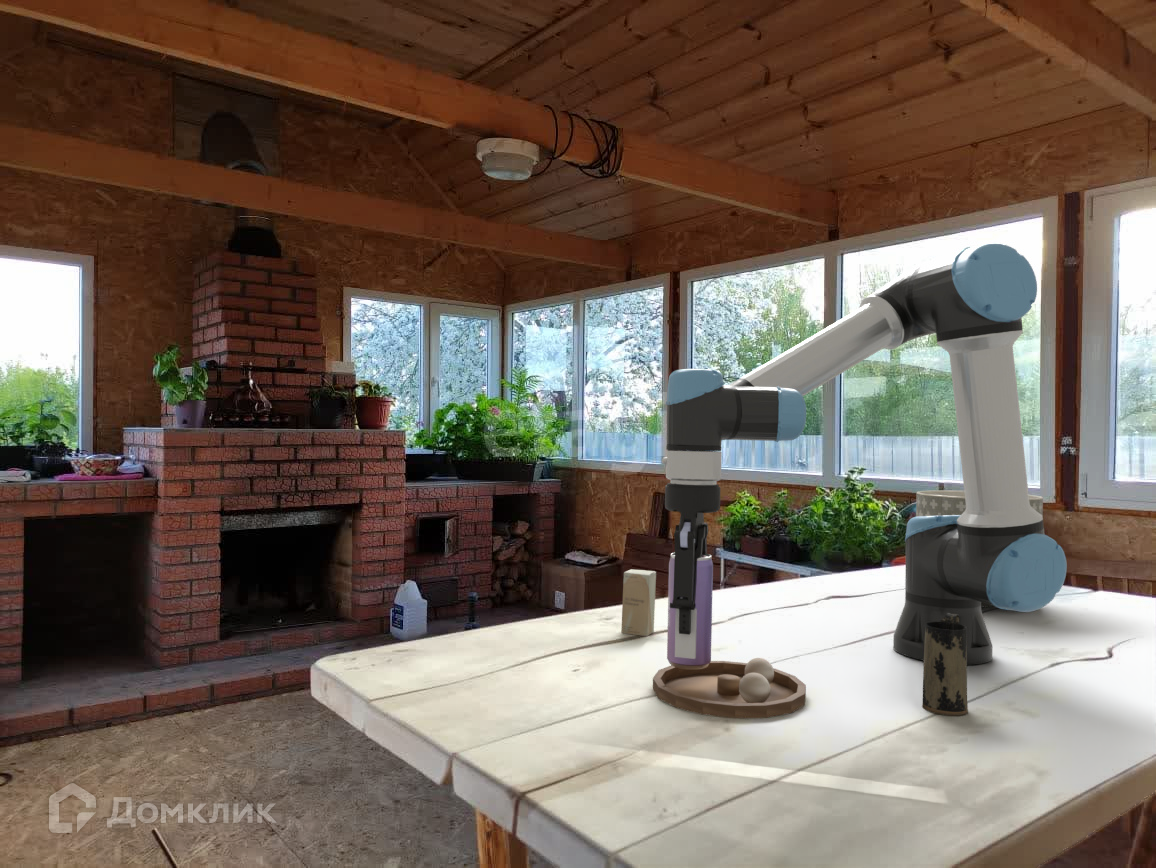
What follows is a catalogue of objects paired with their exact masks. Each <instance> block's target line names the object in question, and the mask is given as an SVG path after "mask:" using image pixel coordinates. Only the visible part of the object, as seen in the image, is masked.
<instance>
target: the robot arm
mask: <svg viewBox="0 0 1156 868" xmlns="http://www.w3.org/2000/svg"><path fill="white" fill-rule="evenodd" d="M1037 295H1038V283H1037V277H1036V274H1035V271H1034V269H1033V267H1032V266H1031V264H1030V262H1029V261H1028V260H1027V258H1026V257H1025V256H1024V255H1023V254H1021V253H1019V252H1018V250H1017V249H1016V248H1014V247H1012V246H1010V245H1007V244H1004V243H999V242H990V243H984V244H979V245H978V244H977V245H973V246H967V247H965V248H963V249H960V250H958V251H957V250H956V251H955V252H951V253H948V254H946V255H942V256H939V257H936V258H934V259H929V260H926V261H923V262H921V263H918V264H916V265H915V266H913V267H911V268H909V269H908V270H907V271H905V272H903V273H901V274H900V275H899V276H897V277H895V278H894V279H893V280H890V282H888V283H886V284H885V285H884V286H882V287H880V288H879V289H876V291H874V292H873V293H871V294H869V295H868V296H866V297H864V298H863V299H862V300H861V302H860V305H859V308H857V309H856V310H854V311H853V312H851V313H849V314H847V315H845V316H843V318H841V319H838V320H837V321H835V322H834V323H832V324H830V325H828V326H827V327H825V328H823V329H821V330H820V331H819V332H817V333H815V334H813V335H812V336H809V337H808V338H806V339H805V340H803V341H801V342H800V343H798V344H796V345H794V346H792V347H791V348H789V349H788V350H786V351H784V352H782V353H780V354H779V355H778V356H776V357H774V358H772V359H770V360H769V361H767V362H766V363H764V364H762V365H760V366H758V367H756V368H755V369H753V370H752V371H749V373H747V374H744V375H743V376H742V377H740V378H739V379H737V380H735V381H733V382H731V383H729V384H725V382H724V378H723V373H722V372H721V371H719V370H717V369H708V368H706V369H705V368H684V369H683V368H682V369H676V370H674V371H672V372H671V373H670V375H669V377H668V384H667V390H666V391H667V392H666V401H665V405H666V447H665V448H666V449H665V450H666V452H665V453H666V454H665V455H666V456H663V457H662V459H661V462H662V464H663V465H666V466H665V478H666V479H667V480H670V482H669V483H666V485H665V486H664V507H665V509H666V510H667V511H670V512H675V513H676V512H678V513H680V517H679V523H678V524H676V525H675V530H674V533H673V538H674V553H675V561H674V592H673V603H670V608H676V620H675V657H681V658H691V659H695V658H696V626H697V609H695V607H696V604H695V598H696V583H697V559H698V558H701V557H702V555H705V554H708V553H707V552H708V546H707V545H708V544H707V543H708V541H707V540H708V534H709V524H708V522H705V518H704V515H705V514H706V513H707V514H712V513H717V512H719V511H720V508H721V486H720V485H719V484H717V483H718V482H719V481H721V479H722V458H723V457H722V454H723V453H722V441H725V440H726V441H727V440H729V441H732V440H733V441H734V440H735V441H737V440H738V441H762V442H763V441H769V442H770V441H771V442H772V441H773V442H777V443H778V442H782V441H783V442H784V441H786V442H787V441H794V440H796V439H798V438H799V437H800V436H801V434H802V433H803V431H804V429H805V426H806V423H807V406H806V405H807V404H806V401H805V399H804V396H806V395H807V394H809V393H811V392H813V391H814V390H816V389H818V388H819V387H821V386H822V385H824V384H826V383H828V382H829V381H831V380H832V379H834V378H836V377H838V376H839V375H841V374H842V373H844V372H846V371H848V370H850V369H851V368H852V367H854V366H856V365H858V364H859V363H861V362H863V361H864V360H867V359H868V358H869V357H871V356H872V355H875V354H876V353H878V352H880V351H881V350H882V349H888V350H893V349H897V348H898V347H900V346H901V345H903V344H905V343H907V342H909V341H910V342H911V341H912V340H915V339H918V338H921V337H925V336H929V335H934V334H935V336H936V344H937V345H938V346H939V347H940V348H942V349H943V350H945V351H946V352H947V353H948V355H949V362H950V363H949V364H950V374H951V381H952V389H953V398H954V408H955V417H956V418H955V419H956V426H957V434H958V444H959V445H958V446H959V454H960V461H961V462H960V464H961V471H962V472H961V474H962V480H963V491H964V492H965V501H966V509H965V511H964V512H963V513H962V515H944V516H918V517H916V516H914V517H911V518H910V519H909V520H908V522H907V524H906V530H905V538H904V542H905V577H904V578H905V580H904V581H905V583H904V584H905V586H904V587H905V588H904V589H905V592H904V593H905V595H904V596H905V599H904V606H903V609H902V611H901V615H900V617H899V620H898V622H897V624H896V628H895V630H894V633H893V645H892V646H893V650H894V651H896V652H897V653H899V654H901V655H904V656H906V657H908V658H909V657H910V658H912V659H917V660H921V661H924V646H925V629H926V623H928V622H940V620H942V619H943V618H944V617H945V616H946V614H947V613H950V614H958V616H959V623H960V625H963V626H965V627H967V666H968V665H970V666H971V665H980V664H986V663H989V662H991V661H992V660H993V642H992V640H991V637H990V634H989V630H988V627H987V625H986V622H985V621H986V620H985V619H984V615H983V612H982V607H981V602H983V603H987V604H990V605H993V606H996V607H995V608H998V609H1000V610H1005V611H1015V612H1020V613H1030V612H1034V611H1037V610H1040V609H1041V608H1044V607H1046V606H1047V605H1048V604H1050V603H1051V602H1052V601H1053V600H1054V599H1055V597H1056V594H1058V593H1059V592H1060V591H1061V590H1062V588H1063V585H1064V583H1065V580H1066V578H1067V577H1066V576H1067V569H1068V567H1067V566H1068V565H1067V557H1066V554H1065V551H1064V549H1063V547H1062V546H1061V545H1060V544H1058V542H1057V541H1056V540H1055V539H1053V538H1052V537H1050V536H1048V535H1047V534H1045V527H1044V518H1043V517H1042V515H1041V514H1039V513H1038V512H1037V511H1036V510H1034V509H1033V508H1032V507H1031V506H1030V503H1029V495H1030V494H1029V485H1028V478H1027V477H1028V475H1027V469H1026V459H1025V450H1024V440H1023V438H1024V437H1023V431H1022V430H1023V428H1022V421H1021V411H1020V402H1019V392H1018V385H1017V384H1018V383H1017V376H1016V375H1017V374H1016V362H1015V356H1014V344H1015V343H1016V342H1017V340H1018V339H1019V338H1020V337H1021V336H1022V334H1023V333H1024V329H1023V320H1022V318H1023V317H1025V316H1026V314H1028V313H1029V312H1030V310H1031V309H1032V307H1033V306H1032V304H1034V303H1035V301H1036V298H1037ZM682 597H687V598H682Z"/></svg>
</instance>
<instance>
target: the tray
mask: <svg viewBox="0 0 1156 868" xmlns="http://www.w3.org/2000/svg"><path fill="white" fill-rule="evenodd" d="M747 663H748V662H738V661H731V660H728V661H727V660H711V662H710V663H709V665H708V666H707V667H706V668H703V669H681V668H677V667H674V666H672V665H671V664H670V665H669V666H666V667H663V668H661V669H658V671H657V672H656V673H655V675H654V676H653V677H652V691H653V692H654V694H655V695H656V697H657V699H658V700H661V701H663V702H665V704H668V705H671V706H672V707H675V708H677V709H680V710H684V711H687V712H691V713H694V714H699V715H705V716H710V717H719V718H729V719H763V718H766V719H767V718H772V717H779V716H783V715H788V714H793V713H794V712H796V711H798V710H799V709H801V708H802V707H804V706H805V705H806V693H807V691H806V690H807V689H806V688H807V687H806V686H807V684H805V683H804V682H803V681H802V680H801V679H799V678H798V677H797V676H795V675H793V674H790V673H788V672H786V671H783V670H779V669H778V668H774V667H773V669H774V678H773V681H772V682H771V684H770V695H769V697H768V699H767V700H766V701H765V702H764V703H747V702H746V701H745V700H744V699H743V698H742V697H741V695H740V692H739V683H740V681H741V679H742V678H743V677H744V676H745V667H746V665H747Z"/></svg>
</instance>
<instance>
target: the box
mask: <svg viewBox="0 0 1156 868" xmlns="http://www.w3.org/2000/svg"><path fill="white" fill-rule="evenodd" d="M656 580H657V571H655V570H645V569H632V568H631V569H629V570H626V571H624V572H623V580H622V581H623V582H622V585H623V586H622V604H621V605H622V611H621V628H620V630H621V634H628V635H634V636H643V637H648V636H650V635H651V634H652V633H654V632H655V605H656V584H657V583H656V582H657V581H656Z"/></svg>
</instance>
